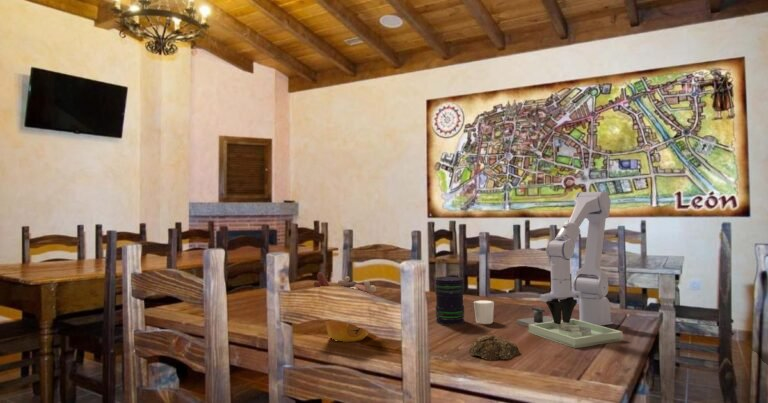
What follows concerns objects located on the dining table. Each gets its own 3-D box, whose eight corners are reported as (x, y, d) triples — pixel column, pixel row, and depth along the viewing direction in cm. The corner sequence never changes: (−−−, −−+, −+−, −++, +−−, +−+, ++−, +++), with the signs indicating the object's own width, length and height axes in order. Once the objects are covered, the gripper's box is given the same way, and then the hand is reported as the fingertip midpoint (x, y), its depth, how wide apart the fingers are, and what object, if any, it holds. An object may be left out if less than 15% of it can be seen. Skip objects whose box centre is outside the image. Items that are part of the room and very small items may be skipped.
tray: (573, 326, 155) (572, 318, 155) (622, 340, 137) (622, 331, 137) (528, 332, 148) (528, 324, 148) (575, 348, 130) (574, 339, 130)
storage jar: (463, 318, 169) (462, 276, 169) (465, 325, 159) (464, 280, 159) (435, 318, 170) (434, 276, 170) (435, 324, 160) (434, 280, 160)
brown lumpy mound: (482, 345, 136) (482, 327, 136) (523, 352, 128) (523, 334, 128) (459, 355, 126) (459, 337, 126) (503, 364, 118) (502, 344, 118)
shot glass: (494, 324, 159) (494, 303, 159) (474, 324, 160) (473, 303, 160) (494, 320, 165) (493, 300, 165) (474, 319, 167) (473, 299, 167)
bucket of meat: (384, 332, 151) (383, 269, 151) (370, 346, 135) (369, 276, 135) (326, 329, 156) (325, 268, 156) (305, 343, 140) (304, 275, 140)
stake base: (547, 319, 165) (546, 303, 165) (570, 326, 155) (570, 308, 155) (516, 323, 160) (516, 306, 160) (539, 330, 150) (538, 312, 150)
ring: (597, 335, 140) (597, 327, 140) (574, 339, 136) (574, 330, 136) (565, 326, 152) (565, 318, 152) (543, 329, 148) (543, 321, 148)
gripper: (569, 275, 154) (570, 317, 153) (533, 278, 148) (534, 322, 148) (586, 278, 147) (587, 322, 147) (549, 281, 142) (550, 327, 141)
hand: (561, 322), depth 147 cm, fingers open, 3 cm apart
